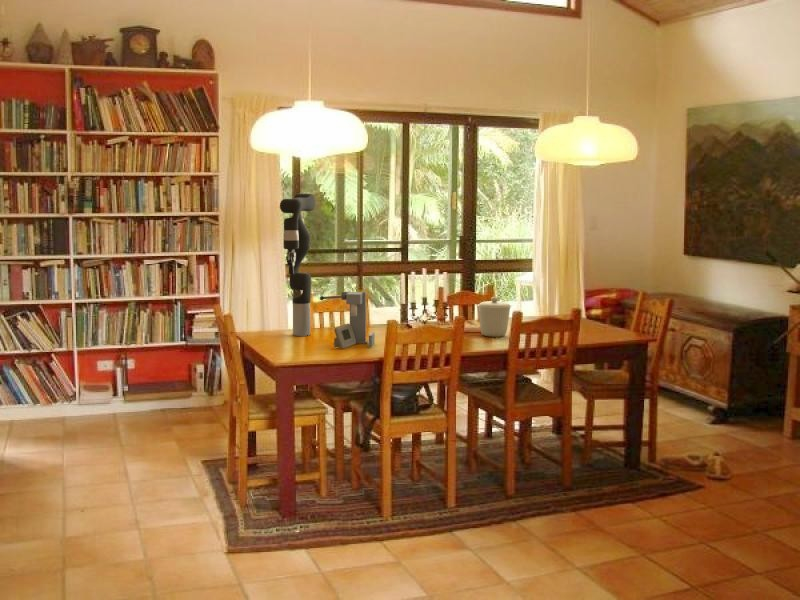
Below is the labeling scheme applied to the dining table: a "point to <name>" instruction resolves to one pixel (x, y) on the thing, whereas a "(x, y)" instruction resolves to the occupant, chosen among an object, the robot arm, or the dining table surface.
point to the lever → (333, 297)
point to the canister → (494, 317)
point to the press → (358, 316)
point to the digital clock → (344, 336)
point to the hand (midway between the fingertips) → (291, 274)
